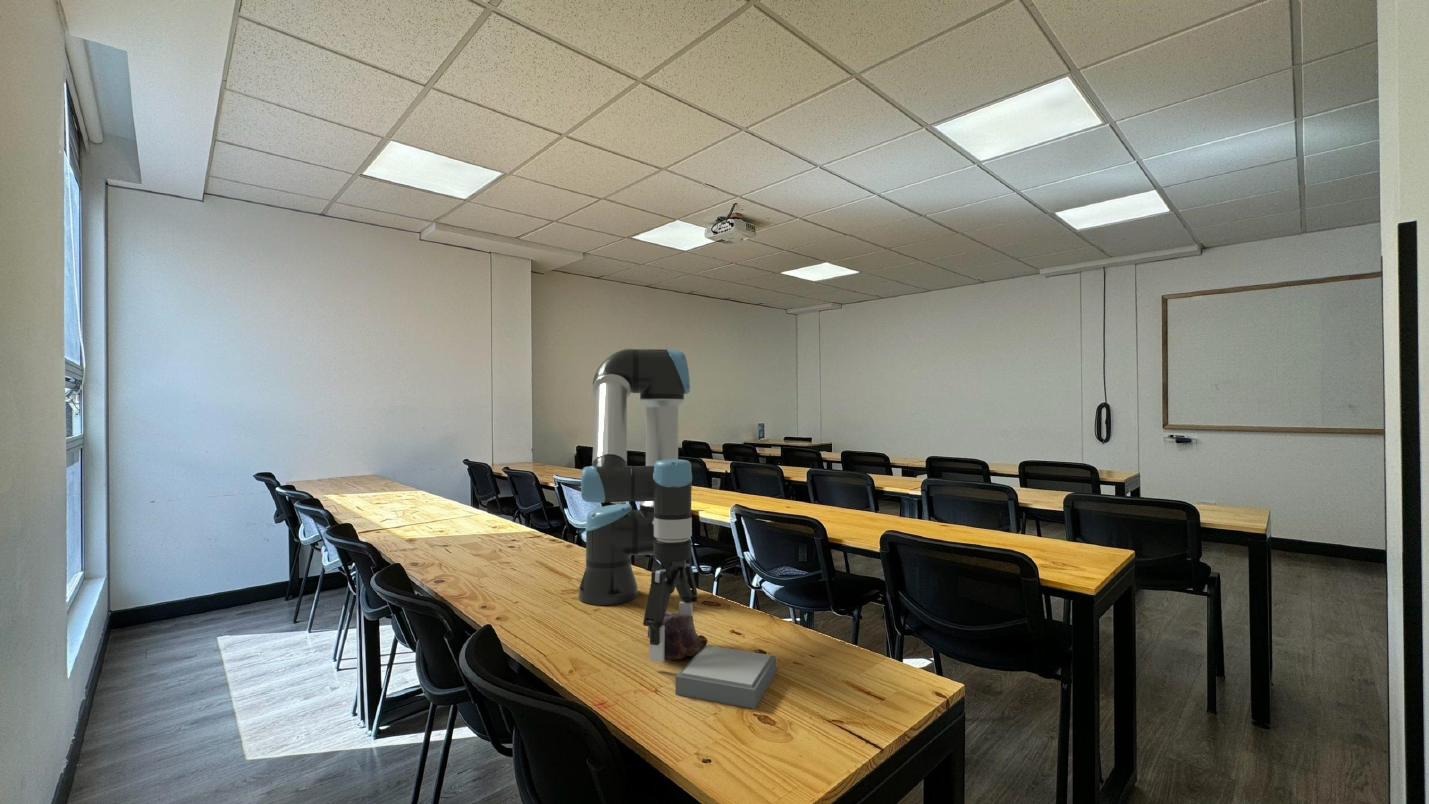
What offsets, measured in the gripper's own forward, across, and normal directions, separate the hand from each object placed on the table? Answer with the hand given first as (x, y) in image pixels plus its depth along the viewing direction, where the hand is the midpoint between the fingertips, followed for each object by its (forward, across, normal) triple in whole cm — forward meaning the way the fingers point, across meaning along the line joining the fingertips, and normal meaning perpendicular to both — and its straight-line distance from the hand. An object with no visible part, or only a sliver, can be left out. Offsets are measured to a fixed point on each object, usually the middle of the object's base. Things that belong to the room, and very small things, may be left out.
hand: (672, 646), depth 113 cm
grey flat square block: (+2, +7, +14) cm, 16 cm away
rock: (+2, 0, 0) cm, 2 cm away
